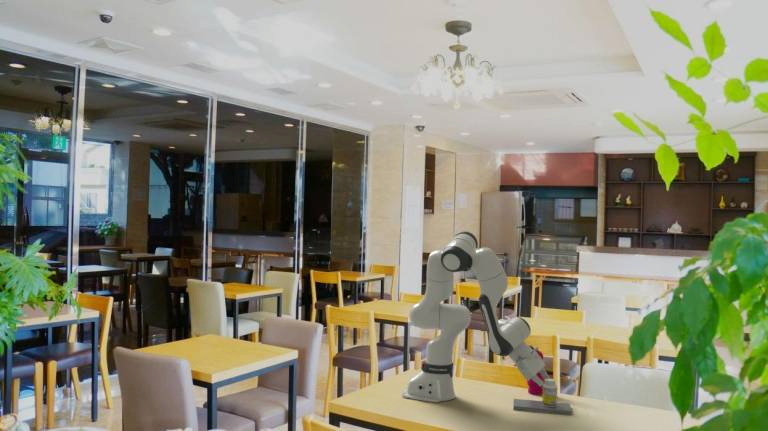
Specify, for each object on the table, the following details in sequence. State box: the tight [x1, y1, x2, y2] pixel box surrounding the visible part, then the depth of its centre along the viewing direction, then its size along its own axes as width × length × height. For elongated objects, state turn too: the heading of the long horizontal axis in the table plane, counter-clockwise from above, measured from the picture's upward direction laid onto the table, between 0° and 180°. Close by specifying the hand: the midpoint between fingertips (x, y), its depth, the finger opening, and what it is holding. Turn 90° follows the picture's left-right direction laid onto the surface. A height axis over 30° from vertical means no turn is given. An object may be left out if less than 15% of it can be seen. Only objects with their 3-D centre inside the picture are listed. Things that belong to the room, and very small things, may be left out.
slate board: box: [512, 398, 573, 416], centre depth 238 cm, size 22×10×2 cm, turn 77°
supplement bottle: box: [541, 378, 558, 407], centre depth 237 cm, size 6×6×10 cm
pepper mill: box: [526, 346, 545, 396], centre depth 259 cm, size 7×7×20 cm
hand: (545, 382), depth 239 cm, fingers open, 8 cm apart
